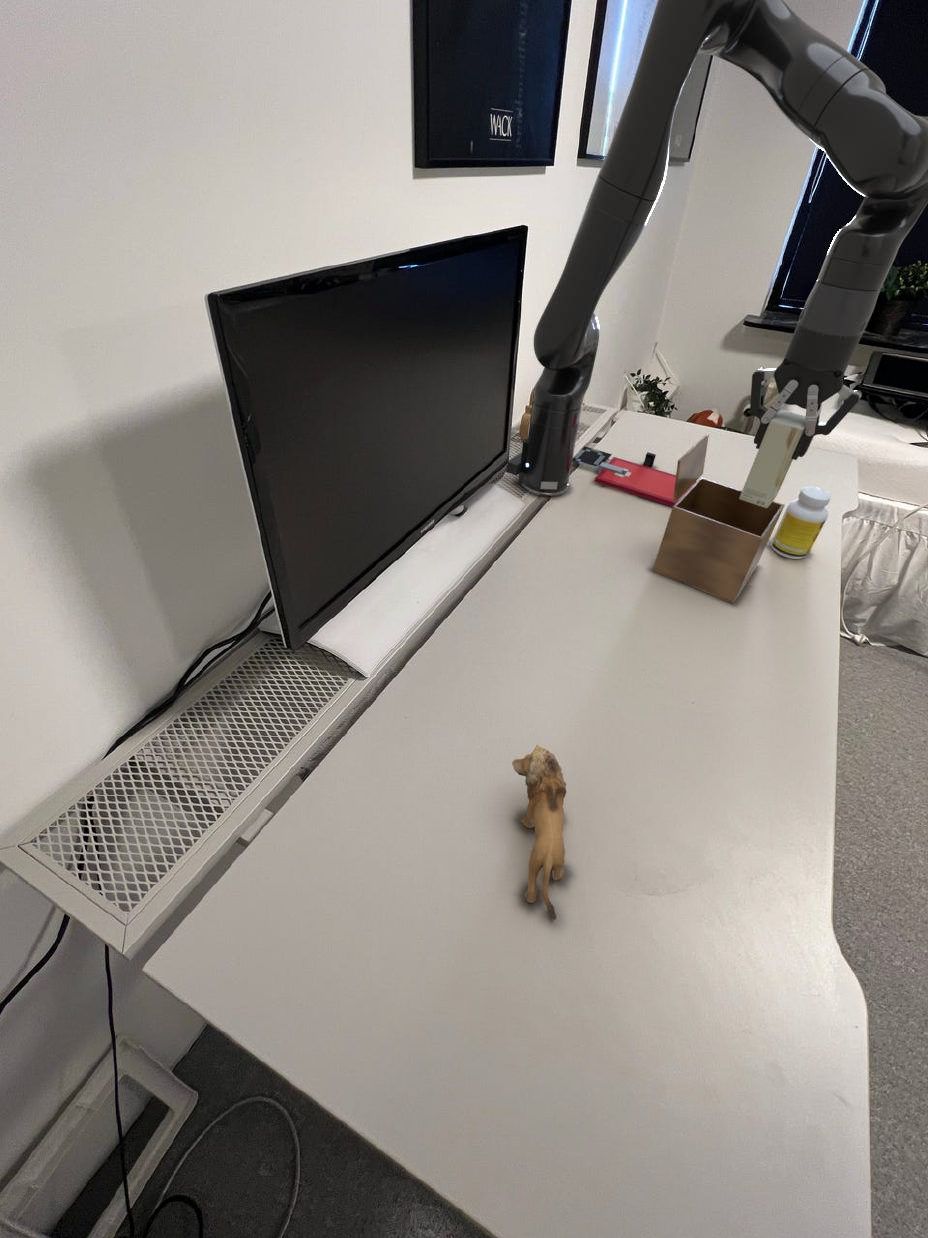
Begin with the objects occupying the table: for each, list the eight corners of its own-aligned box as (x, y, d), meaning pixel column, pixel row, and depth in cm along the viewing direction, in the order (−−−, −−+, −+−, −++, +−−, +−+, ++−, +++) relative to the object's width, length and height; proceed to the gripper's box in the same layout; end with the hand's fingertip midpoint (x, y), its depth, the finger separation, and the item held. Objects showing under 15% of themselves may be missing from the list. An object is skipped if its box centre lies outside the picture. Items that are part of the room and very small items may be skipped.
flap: (675, 502, 92) (672, 502, 92) (703, 473, 100) (700, 473, 100) (680, 460, 88) (677, 460, 88) (708, 433, 96) (706, 433, 96)
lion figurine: (504, 789, 67) (512, 739, 61) (550, 786, 68) (563, 737, 62) (527, 924, 56) (540, 880, 50) (582, 920, 57) (601, 875, 51)
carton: (652, 570, 100) (672, 506, 92) (679, 538, 109) (700, 477, 100) (733, 604, 95) (762, 538, 87) (756, 567, 103) (784, 504, 95)
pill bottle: (802, 565, 104) (832, 507, 96) (765, 551, 107) (791, 493, 99) (811, 549, 108) (841, 492, 100) (775, 536, 111) (801, 479, 103)
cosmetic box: (766, 509, 87) (802, 430, 79) (737, 499, 89) (769, 420, 81) (778, 493, 91) (813, 416, 83) (750, 484, 93) (781, 407, 85)
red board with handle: (586, 446, 135) (560, 473, 126) (589, 435, 133) (562, 461, 124) (719, 486, 125) (702, 518, 115) (724, 474, 123) (706, 505, 113)
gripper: (898, 330, 74) (834, 458, 85) (780, 307, 80) (735, 430, 91) (890, 343, 69) (823, 477, 80) (765, 318, 75) (719, 446, 86)
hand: (777, 451), depth 85 cm, fingers closed on cosmetic box, 4 cm apart
